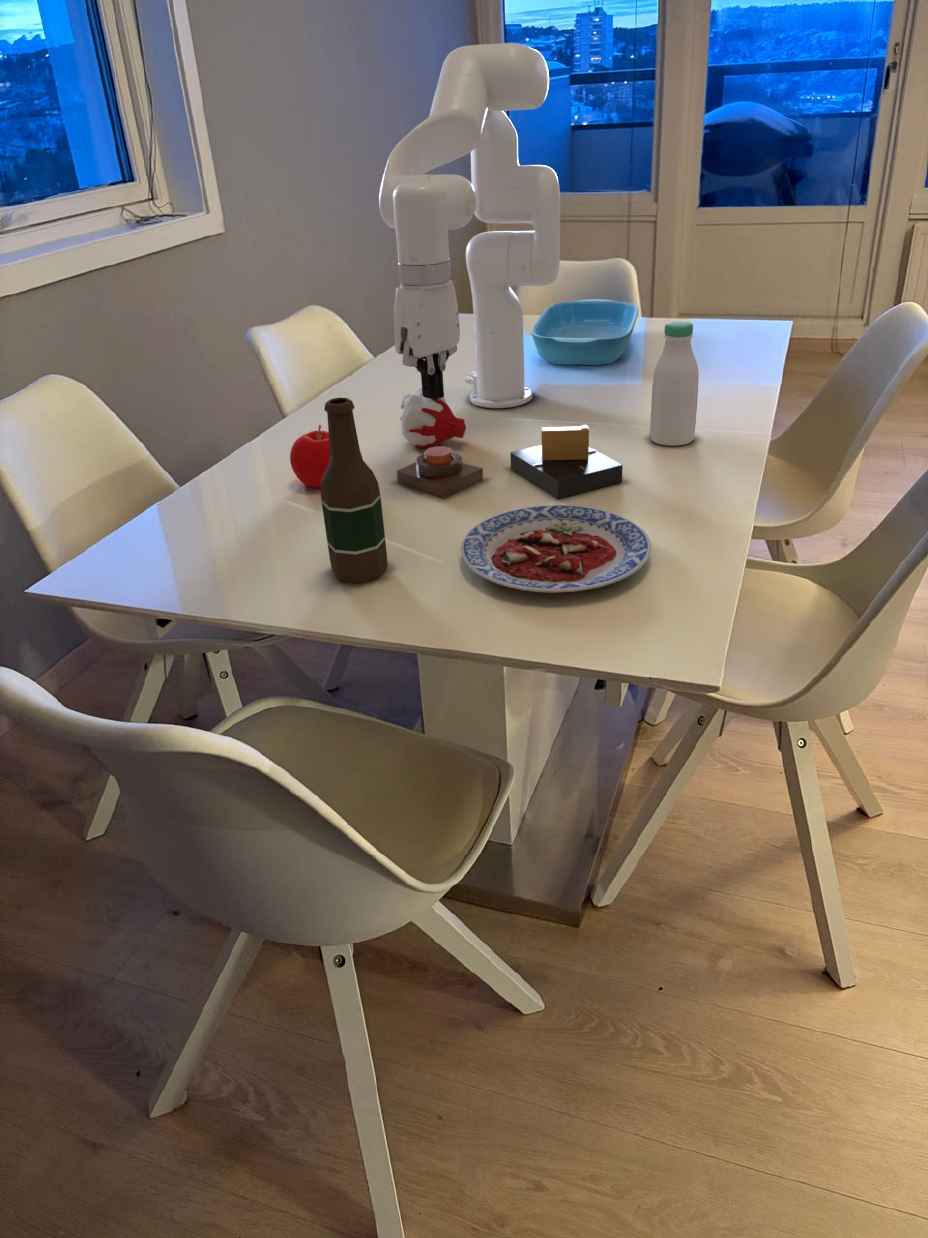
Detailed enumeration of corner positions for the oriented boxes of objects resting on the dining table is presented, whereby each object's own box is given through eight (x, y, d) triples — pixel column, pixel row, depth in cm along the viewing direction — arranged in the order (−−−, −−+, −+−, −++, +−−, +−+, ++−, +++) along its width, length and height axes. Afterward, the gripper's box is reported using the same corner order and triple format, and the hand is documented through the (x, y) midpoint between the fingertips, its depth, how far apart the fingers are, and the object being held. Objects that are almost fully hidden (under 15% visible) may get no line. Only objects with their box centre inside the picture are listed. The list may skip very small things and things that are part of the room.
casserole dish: (626, 372, 201) (627, 338, 197) (523, 370, 206) (522, 337, 202) (641, 328, 231) (643, 298, 227) (551, 327, 236) (551, 298, 233)
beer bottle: (332, 560, 133) (308, 393, 120) (388, 555, 133) (369, 388, 120) (330, 586, 126) (305, 413, 113) (388, 581, 126) (369, 407, 114)
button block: (397, 482, 155) (395, 460, 153) (435, 466, 161) (434, 443, 159) (445, 498, 149) (443, 475, 147) (483, 480, 154) (482, 457, 152)
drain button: (419, 462, 153) (418, 452, 152) (438, 454, 156) (437, 444, 155) (438, 468, 150) (438, 458, 149) (457, 459, 153) (457, 449, 152)
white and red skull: (407, 425, 178) (479, 443, 173) (377, 445, 169) (453, 464, 164) (408, 379, 173) (483, 395, 168) (378, 397, 164) (456, 415, 159)
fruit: (333, 496, 152) (325, 437, 147) (284, 491, 155) (274, 432, 150) (358, 474, 159) (351, 417, 154) (311, 470, 162) (302, 414, 157)
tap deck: (510, 469, 158) (510, 451, 156) (571, 454, 162) (571, 436, 161) (557, 499, 146) (557, 480, 145) (622, 482, 151) (622, 463, 149)
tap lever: (541, 460, 152) (541, 429, 149) (541, 456, 154) (541, 425, 151) (588, 459, 152) (589, 428, 149) (588, 455, 153) (588, 424, 150)
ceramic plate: (601, 624, 114) (601, 602, 112) (425, 578, 126) (423, 559, 125) (679, 538, 132) (680, 519, 131) (518, 506, 145) (518, 488, 143)
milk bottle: (694, 447, 162) (703, 329, 151) (648, 446, 163) (654, 329, 153) (694, 431, 168) (702, 317, 158) (650, 430, 170) (656, 317, 159)
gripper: (442, 263, 145) (449, 381, 154) (369, 280, 136) (382, 405, 145) (478, 267, 140) (483, 389, 149) (405, 285, 131) (415, 414, 140)
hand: (433, 396), depth 147 cm, fingers closed
